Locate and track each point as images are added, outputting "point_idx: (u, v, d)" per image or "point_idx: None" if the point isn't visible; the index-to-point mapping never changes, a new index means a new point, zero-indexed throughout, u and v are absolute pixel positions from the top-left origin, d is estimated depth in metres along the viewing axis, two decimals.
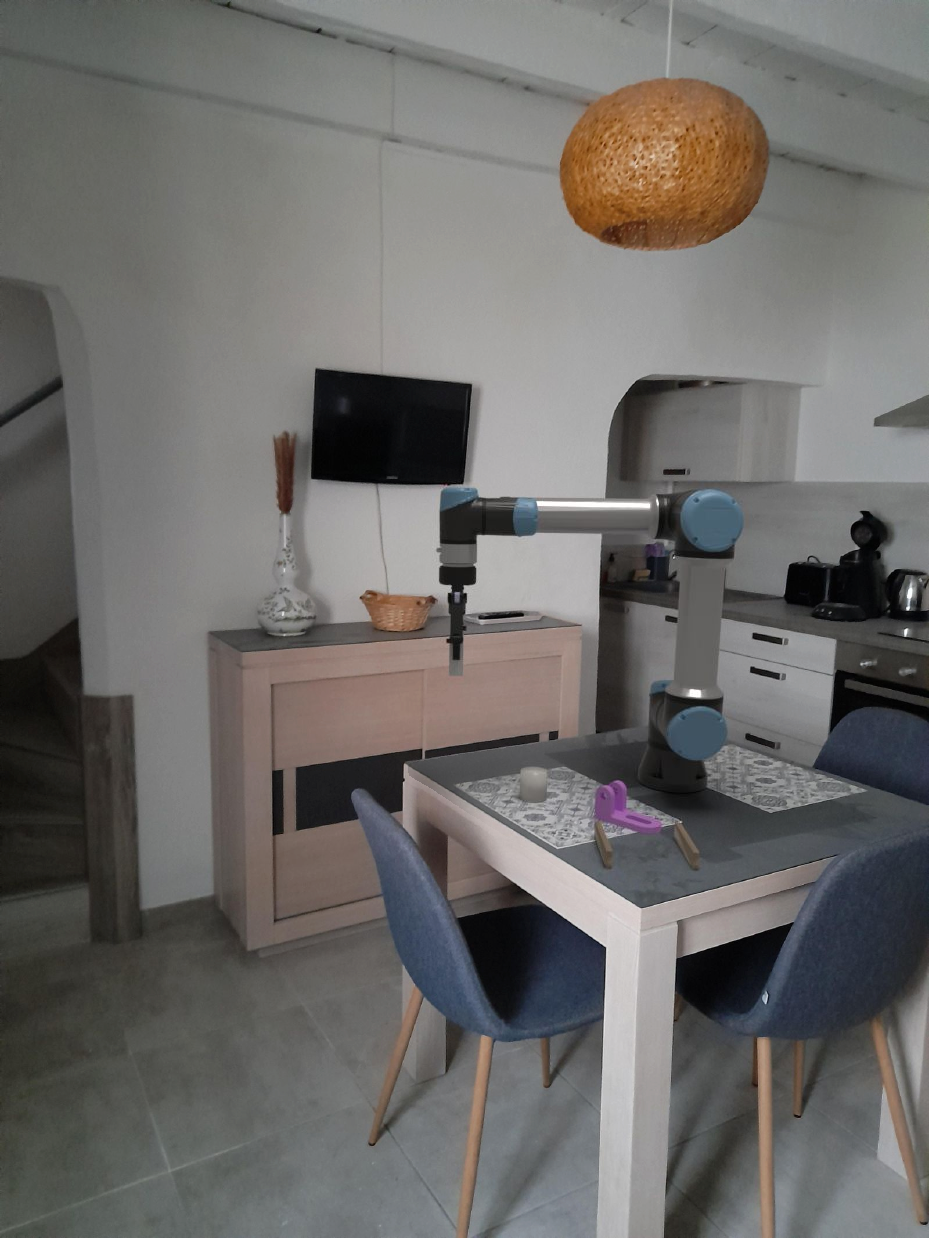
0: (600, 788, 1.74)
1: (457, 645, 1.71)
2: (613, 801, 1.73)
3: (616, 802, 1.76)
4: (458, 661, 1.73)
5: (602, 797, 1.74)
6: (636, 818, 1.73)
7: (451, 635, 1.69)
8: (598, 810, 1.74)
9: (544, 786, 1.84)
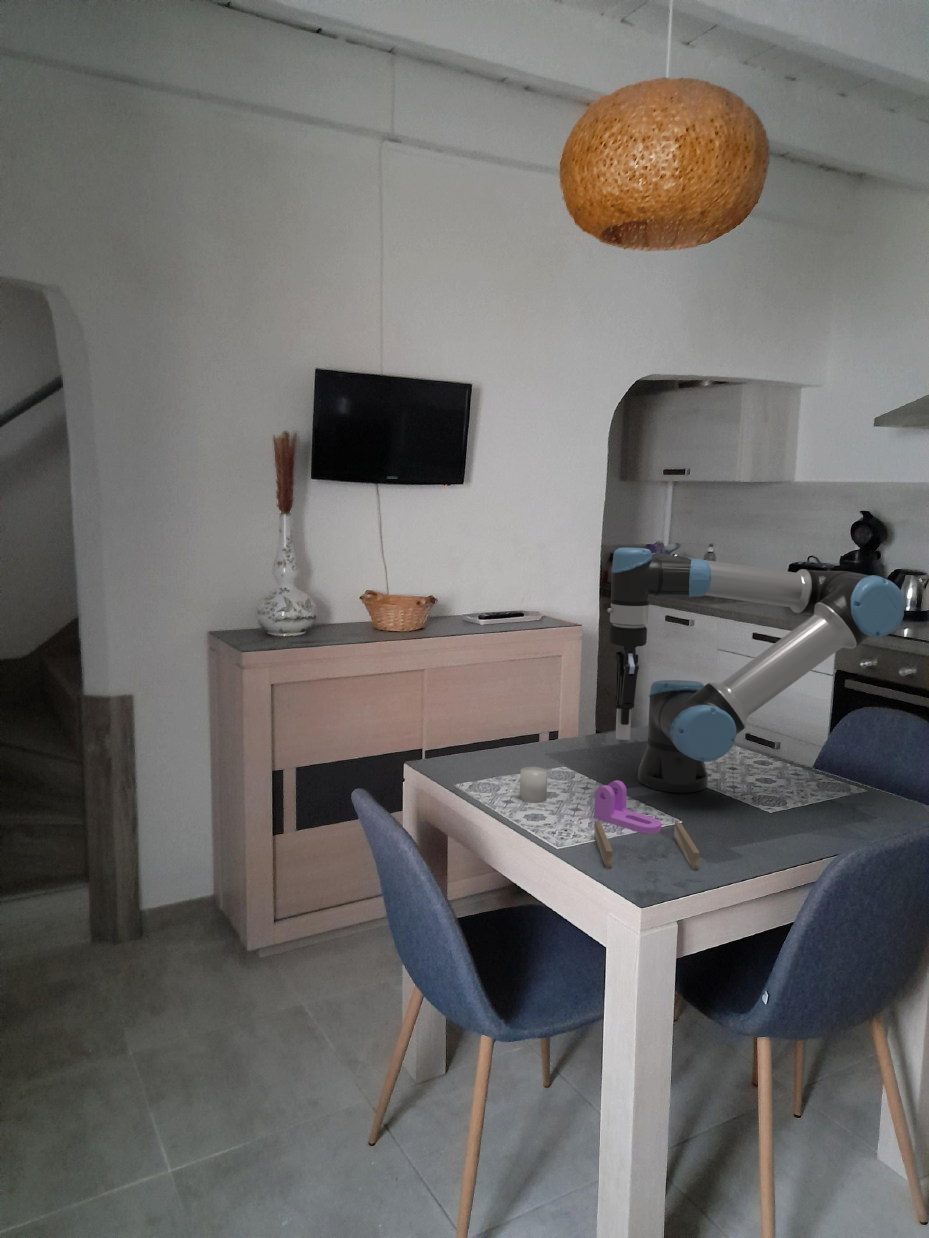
0: (600, 788, 1.74)
1: (627, 710, 1.78)
2: (613, 801, 1.73)
3: (616, 802, 1.76)
4: (626, 725, 1.80)
5: (602, 797, 1.74)
6: (636, 818, 1.73)
7: (623, 704, 1.76)
8: (598, 810, 1.74)
9: (544, 786, 1.84)
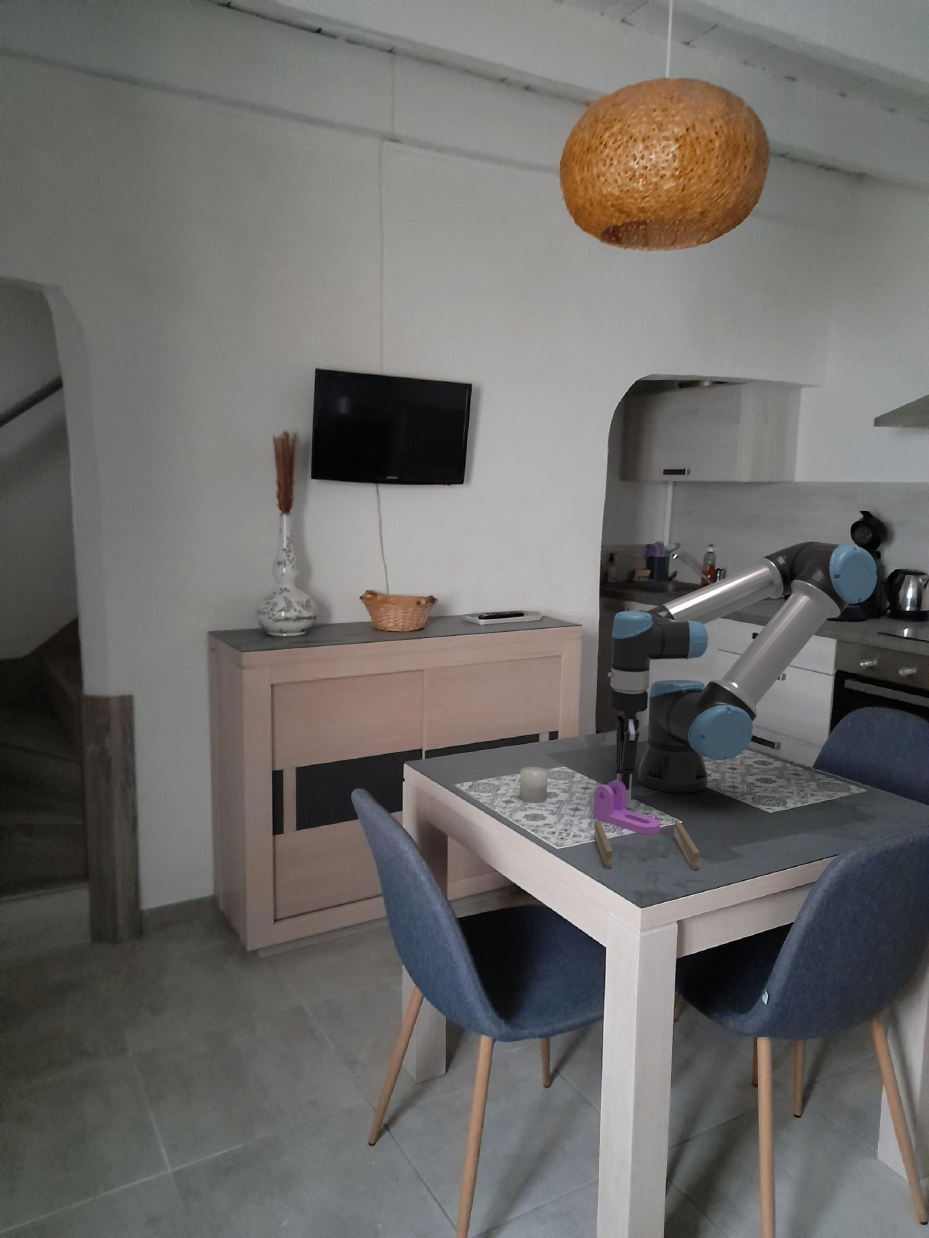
0: (599, 787, 1.74)
1: (627, 775, 1.77)
2: (612, 801, 1.73)
3: (615, 801, 1.76)
4: (626, 790, 1.78)
5: (601, 796, 1.74)
6: (635, 817, 1.73)
7: (623, 770, 1.75)
8: (597, 809, 1.74)
9: (544, 786, 1.84)
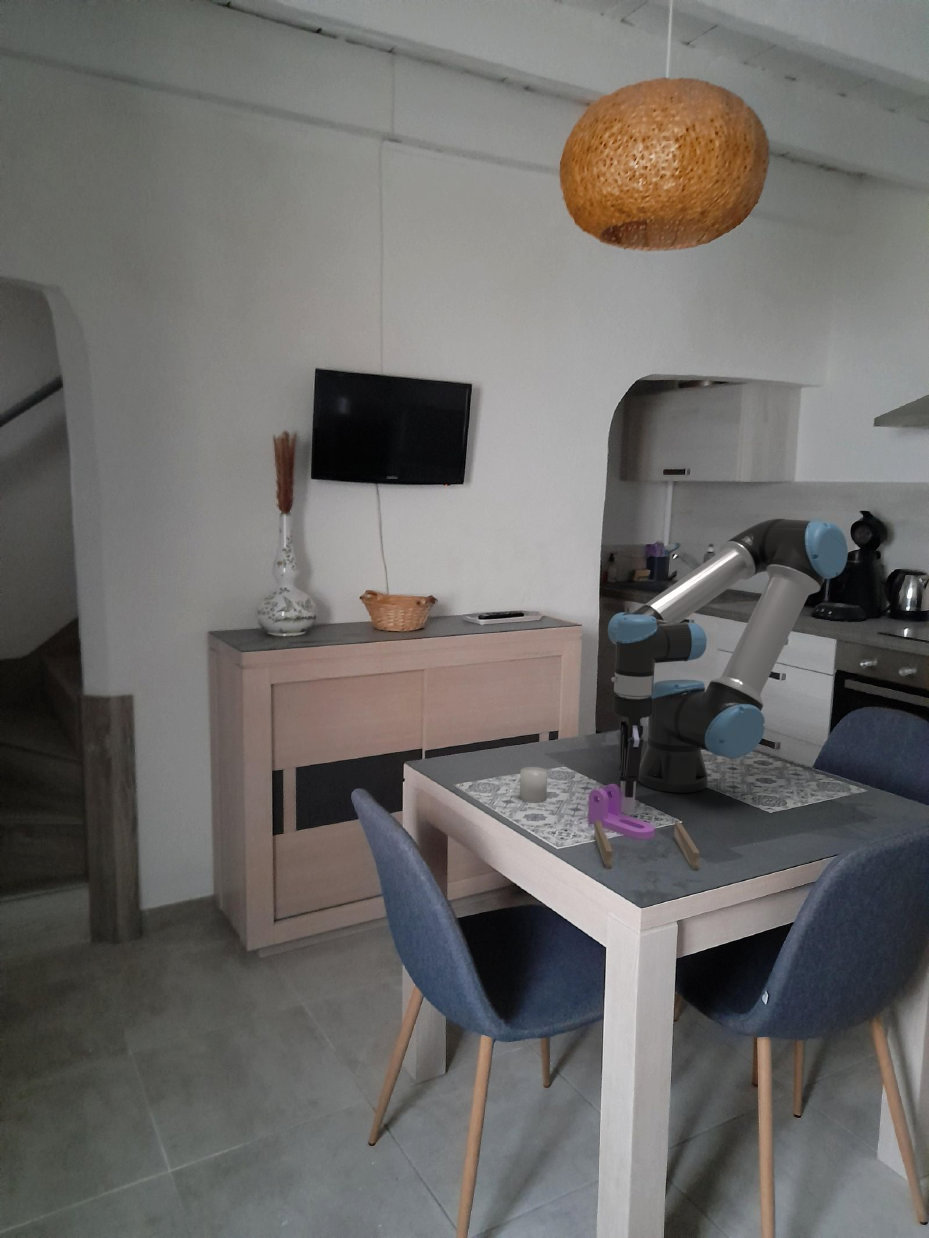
0: (593, 791, 1.72)
1: (631, 783, 1.72)
2: (606, 805, 1.71)
3: (611, 806, 1.74)
4: (630, 798, 1.74)
5: (595, 800, 1.72)
6: (630, 822, 1.70)
7: (627, 777, 1.70)
8: (591, 813, 1.72)
9: (544, 786, 1.84)
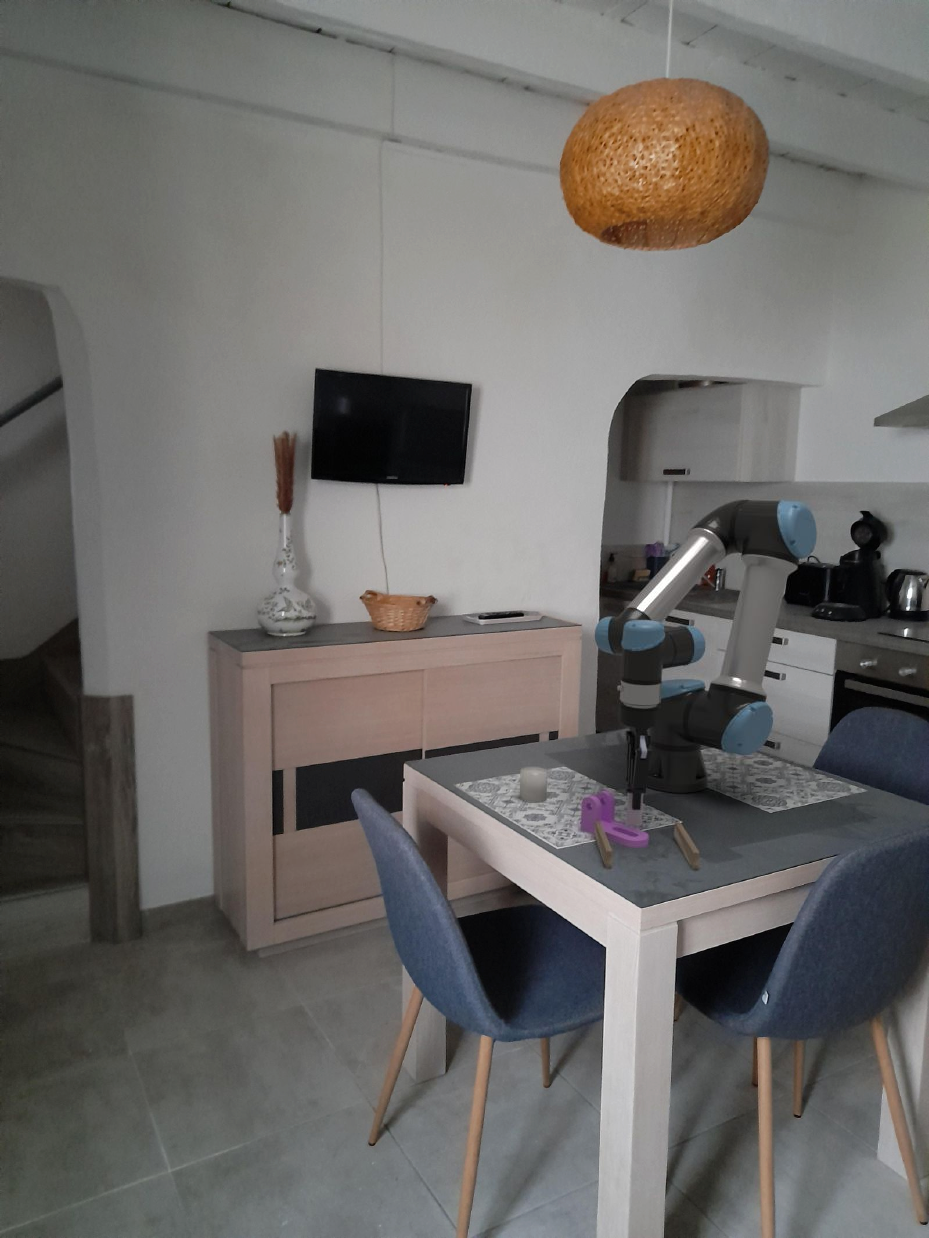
0: (586, 798, 1.67)
1: (638, 795, 1.66)
2: (599, 812, 1.67)
3: (604, 813, 1.70)
4: (637, 810, 1.68)
5: (588, 808, 1.68)
6: (623, 830, 1.66)
7: (634, 789, 1.64)
8: (584, 821, 1.68)
9: (544, 786, 1.84)
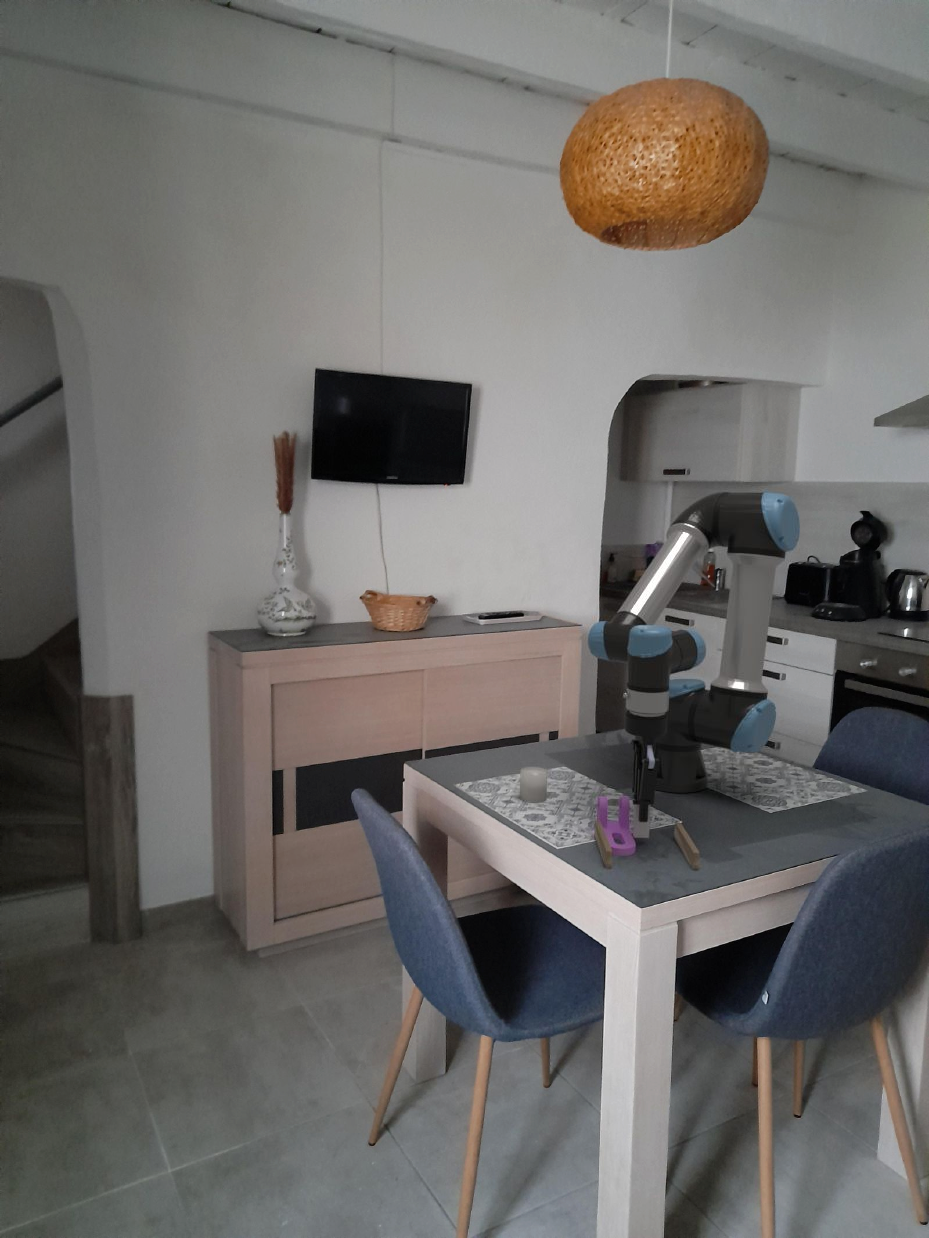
0: (598, 797, 1.68)
1: (645, 806, 1.60)
2: (604, 814, 1.66)
3: (620, 818, 1.68)
4: (644, 822, 1.62)
5: None
6: (622, 838, 1.63)
7: (641, 801, 1.58)
8: (597, 820, 1.69)
9: (544, 786, 1.84)
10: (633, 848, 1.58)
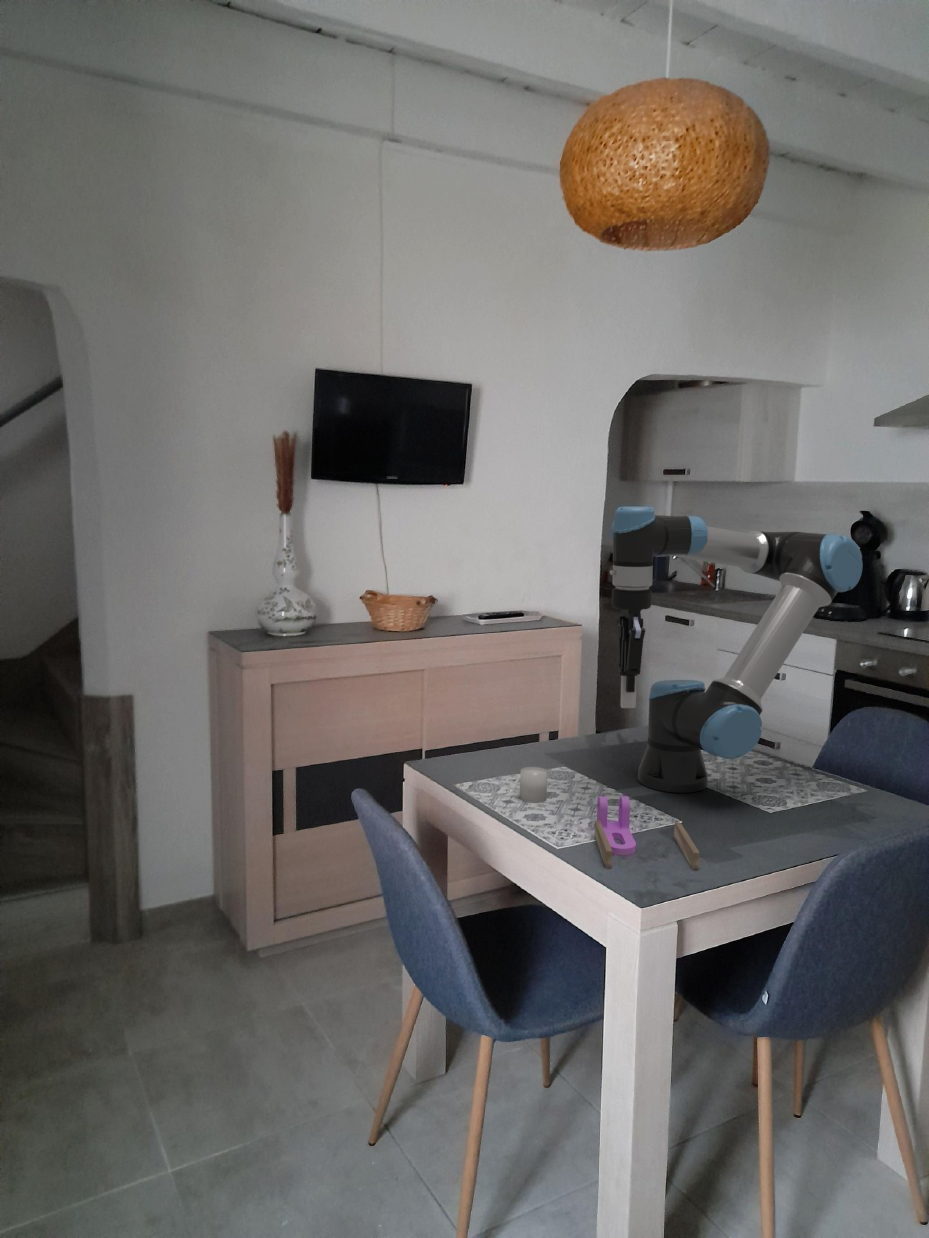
0: (598, 797, 1.68)
1: (632, 677, 1.70)
2: (604, 814, 1.66)
3: (620, 818, 1.68)
4: (631, 693, 1.72)
5: None
6: (622, 838, 1.63)
7: (629, 670, 1.68)
8: (597, 820, 1.69)
9: (544, 786, 1.84)
10: (633, 848, 1.58)
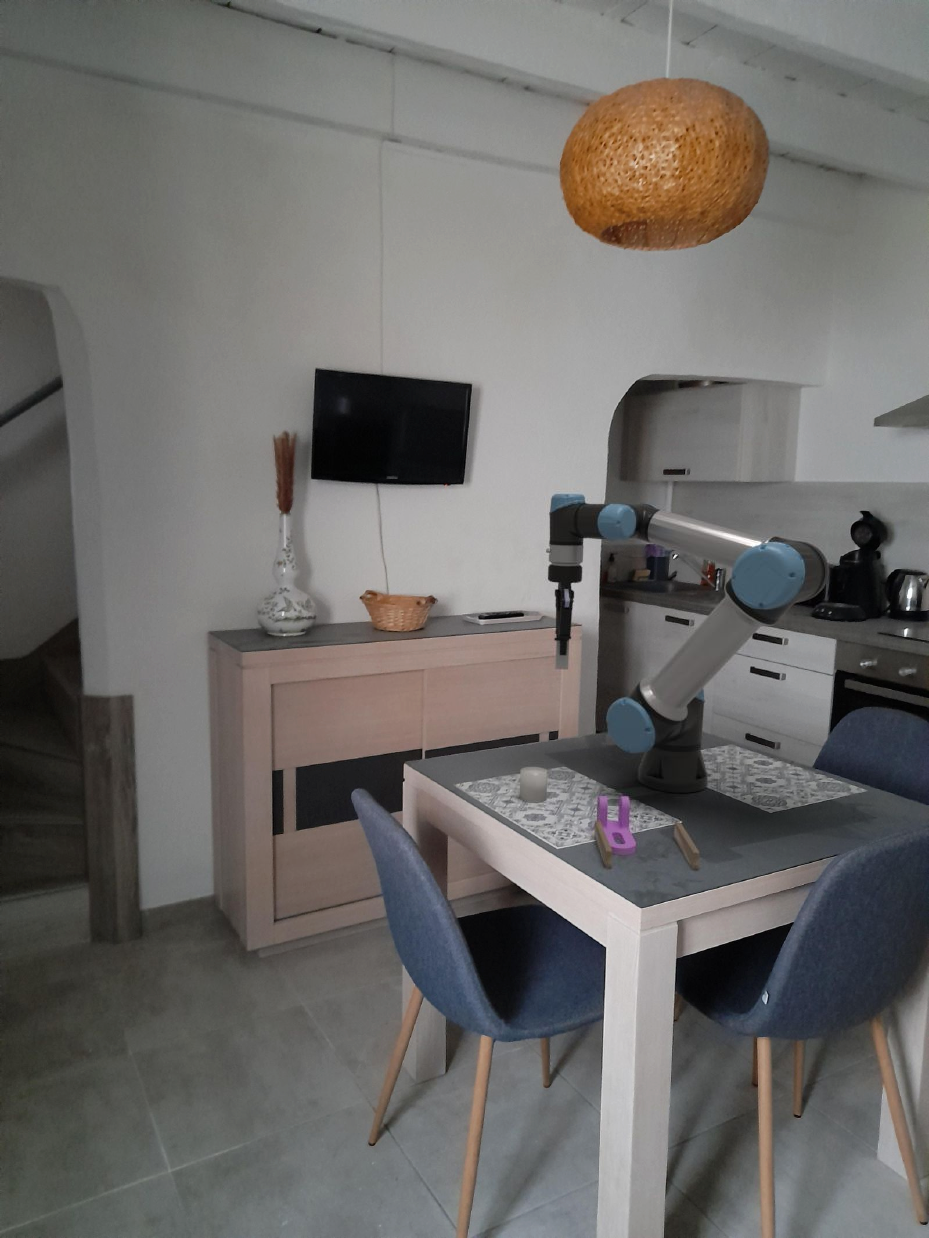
0: (598, 797, 1.68)
1: (564, 642, 1.96)
2: (604, 814, 1.66)
3: (620, 818, 1.68)
4: (564, 656, 1.98)
5: None
6: (622, 837, 1.63)
7: (560, 635, 1.94)
8: (597, 820, 1.69)
9: (544, 786, 1.84)
10: (633, 848, 1.59)
